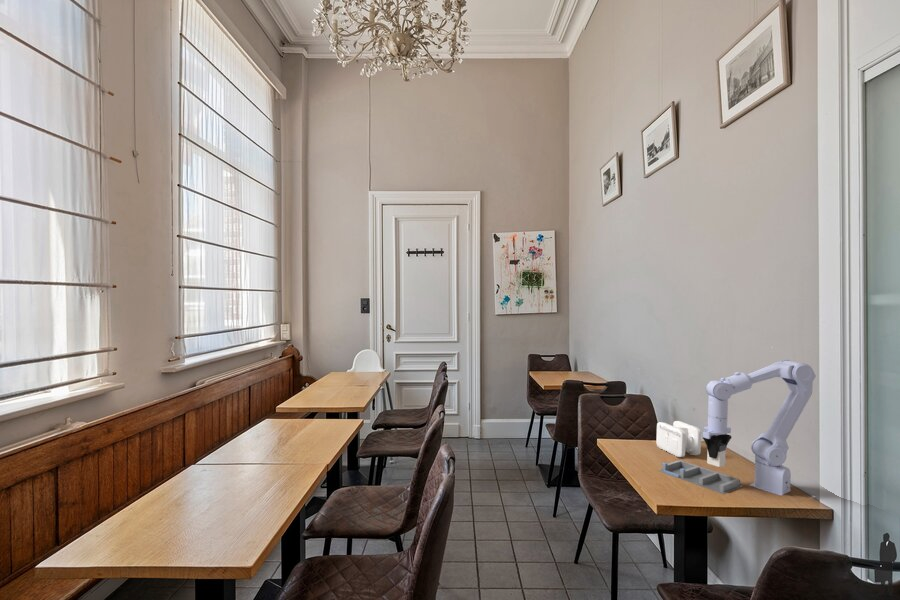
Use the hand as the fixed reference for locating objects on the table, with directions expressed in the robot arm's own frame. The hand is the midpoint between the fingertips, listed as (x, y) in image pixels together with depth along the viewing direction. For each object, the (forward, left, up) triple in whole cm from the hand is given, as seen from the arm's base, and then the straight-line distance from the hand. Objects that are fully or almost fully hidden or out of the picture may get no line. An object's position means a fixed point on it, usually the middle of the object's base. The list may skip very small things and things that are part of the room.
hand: (716, 456), depth 155 cm
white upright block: (0, 0, -3) cm, 3 cm away
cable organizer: (+26, -21, -10) cm, 35 cm away
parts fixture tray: (+6, 0, -10) cm, 11 cm away
